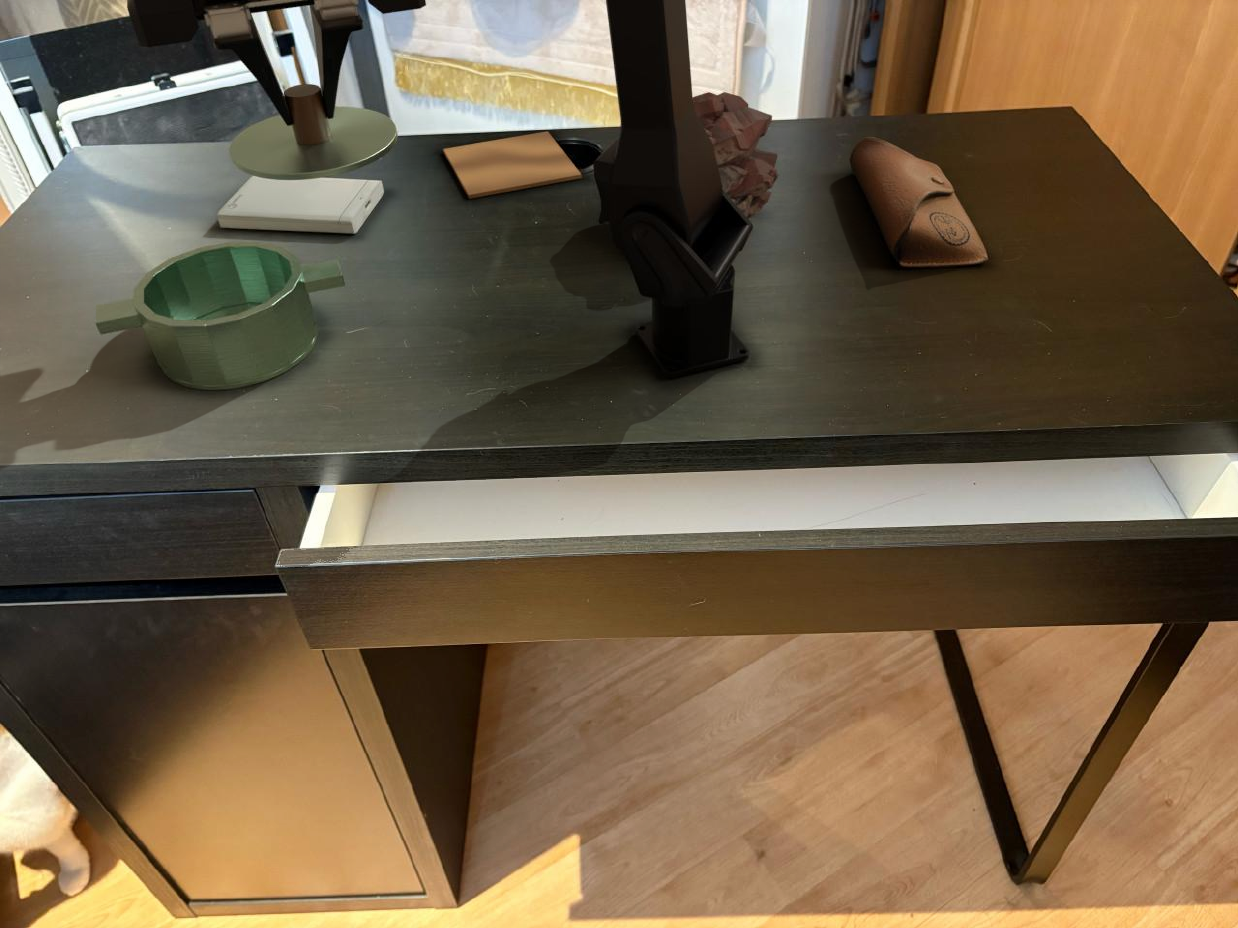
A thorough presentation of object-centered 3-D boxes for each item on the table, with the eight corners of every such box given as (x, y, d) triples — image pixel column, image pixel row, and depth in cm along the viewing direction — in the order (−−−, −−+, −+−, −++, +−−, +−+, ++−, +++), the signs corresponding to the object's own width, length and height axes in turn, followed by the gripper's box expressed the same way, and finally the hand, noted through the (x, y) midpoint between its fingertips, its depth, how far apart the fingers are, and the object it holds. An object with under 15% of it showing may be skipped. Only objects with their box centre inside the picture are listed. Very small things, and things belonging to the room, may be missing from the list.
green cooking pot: (365, 360, 70) (349, 296, 66) (118, 414, 65) (88, 349, 62) (342, 284, 78) (327, 223, 74) (122, 328, 74) (95, 266, 70)
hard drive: (215, 213, 84) (350, 218, 82) (254, 172, 90) (381, 176, 89) (221, 230, 85) (354, 236, 84) (259, 189, 91) (384, 193, 90)
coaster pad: (581, 178, 91) (581, 174, 91) (469, 199, 88) (468, 195, 88) (547, 135, 99) (547, 131, 99) (443, 152, 96) (442, 149, 96)
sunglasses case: (997, 259, 77) (970, 194, 73) (914, 301, 79) (884, 240, 75) (936, 164, 90) (910, 104, 87) (866, 201, 93) (839, 145, 89)
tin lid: (414, 169, 69) (403, 106, 66) (240, 201, 66) (219, 136, 63) (382, 110, 78) (371, 51, 75) (227, 136, 75) (208, 76, 72)
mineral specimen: (626, 271, 87) (758, 184, 89) (682, 293, 76) (832, 194, 78) (564, 155, 82) (706, 65, 84) (614, 160, 71) (778, 57, 72)
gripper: (374, -159, 68) (412, 65, 78) (93, -132, 63) (173, 103, 74) (406, -132, 60) (444, 114, 70) (88, -99, 55) (178, 159, 66)
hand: (310, 120), depth 70 cm, fingers closed on tin lid, 3 cm apart
